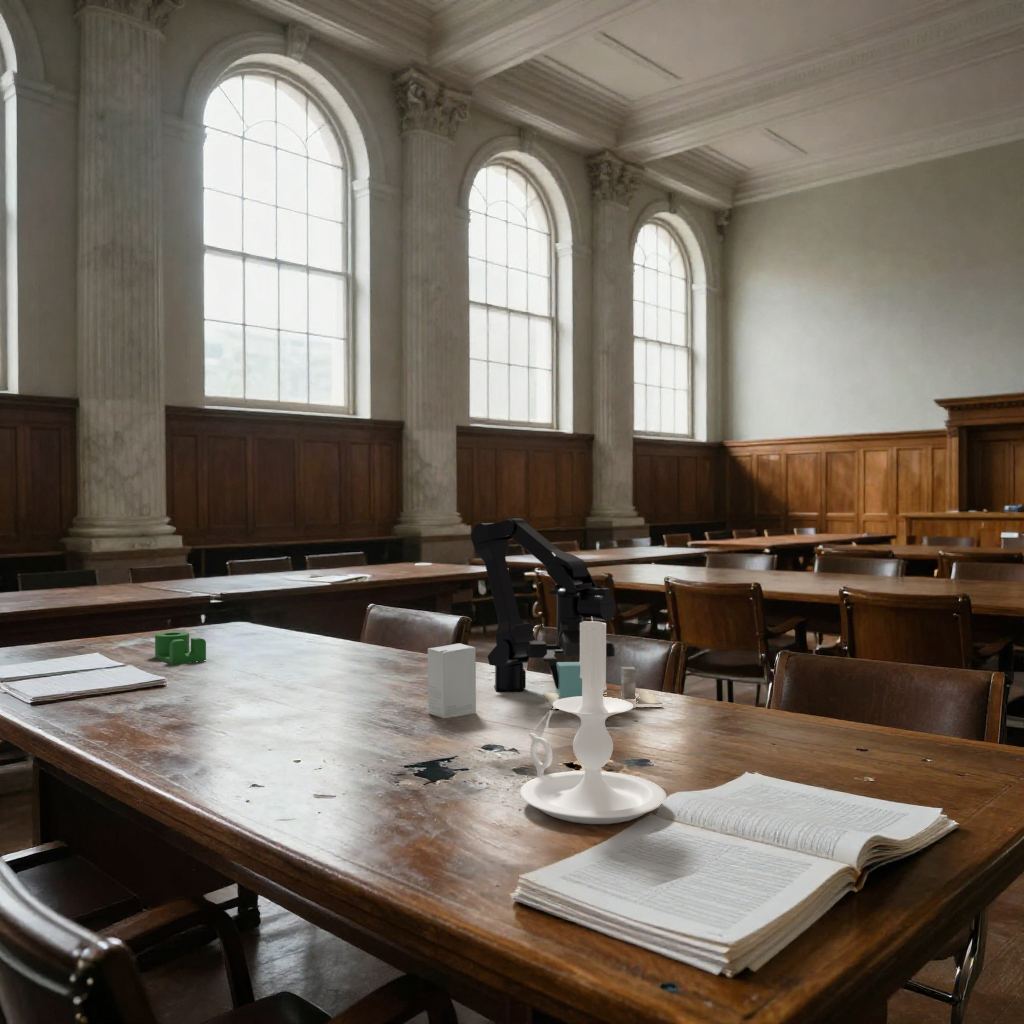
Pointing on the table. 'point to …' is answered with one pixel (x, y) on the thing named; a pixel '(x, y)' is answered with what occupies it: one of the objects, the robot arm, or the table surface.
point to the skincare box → (452, 680)
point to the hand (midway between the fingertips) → (569, 688)
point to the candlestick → (590, 753)
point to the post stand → (626, 689)
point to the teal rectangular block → (569, 679)
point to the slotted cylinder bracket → (179, 648)
